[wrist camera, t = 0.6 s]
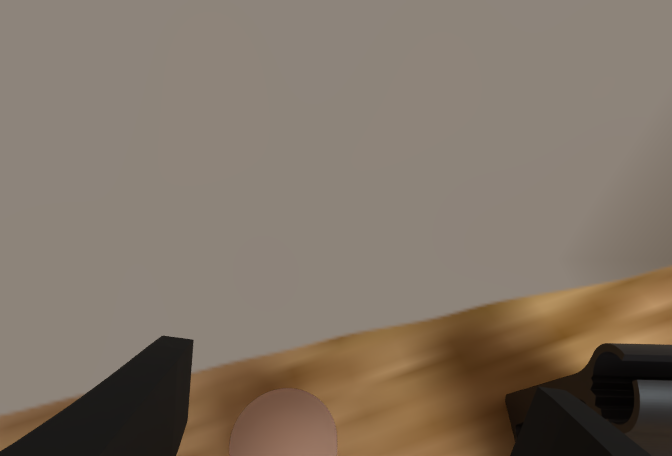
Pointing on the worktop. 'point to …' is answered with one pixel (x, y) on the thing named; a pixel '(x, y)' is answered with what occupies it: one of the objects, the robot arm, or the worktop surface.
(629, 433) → the phone stand
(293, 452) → the terracotta cylinder
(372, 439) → the worktop surface
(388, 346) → the worktop surface
